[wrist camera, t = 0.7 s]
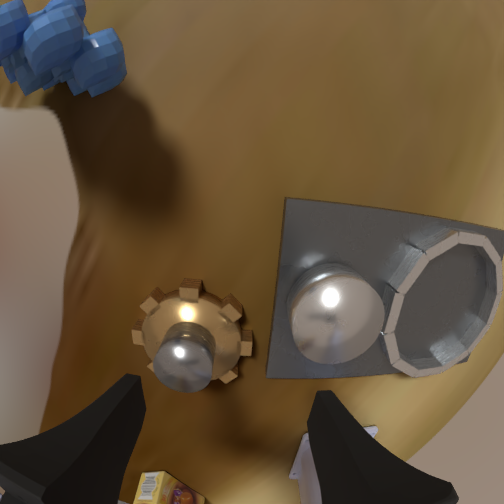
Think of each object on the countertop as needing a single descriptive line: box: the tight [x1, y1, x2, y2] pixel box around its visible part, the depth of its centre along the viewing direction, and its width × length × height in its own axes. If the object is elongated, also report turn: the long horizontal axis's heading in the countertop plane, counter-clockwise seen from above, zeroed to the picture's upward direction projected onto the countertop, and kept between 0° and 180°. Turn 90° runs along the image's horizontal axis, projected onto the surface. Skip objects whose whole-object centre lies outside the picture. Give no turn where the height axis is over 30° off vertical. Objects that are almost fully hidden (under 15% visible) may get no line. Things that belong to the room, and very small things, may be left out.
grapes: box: [0, 0, 127, 97], centre depth 9 cm, size 12×7×12 cm, turn 68°
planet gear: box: [132, 279, 252, 393], centre depth 18 cm, size 8×8×4 cm
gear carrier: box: [265, 197, 504, 378], centre depth 18 cm, size 13×20×4 cm, turn 86°
